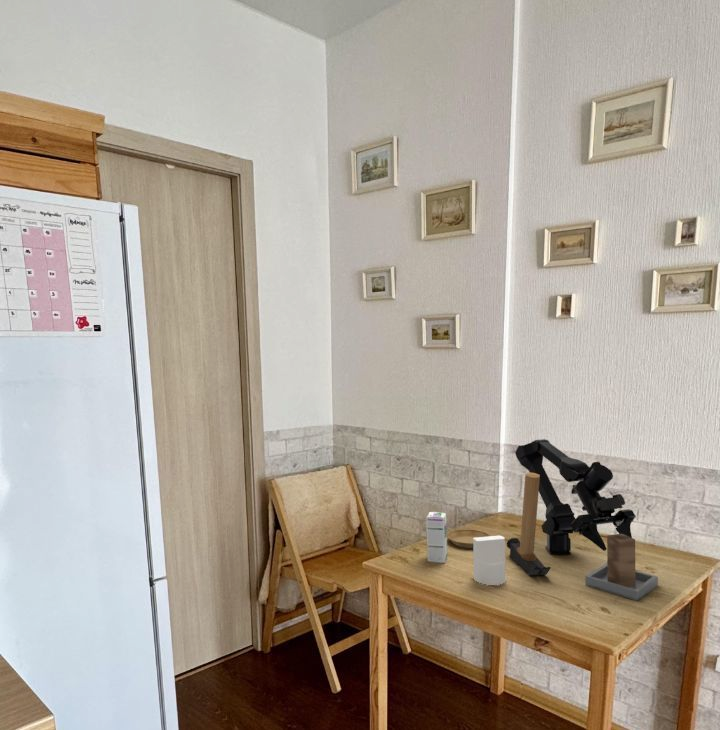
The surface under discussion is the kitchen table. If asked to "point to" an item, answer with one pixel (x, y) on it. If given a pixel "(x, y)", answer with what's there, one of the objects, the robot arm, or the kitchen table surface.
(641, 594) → the tray
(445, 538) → the syrup box
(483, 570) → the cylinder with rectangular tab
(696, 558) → the kitchen table surface
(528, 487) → the hammer
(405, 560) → the kitchen table surface
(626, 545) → the walnut block
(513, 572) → the kitchen table surface
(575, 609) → the kitchen table surface
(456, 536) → the plant saucer
